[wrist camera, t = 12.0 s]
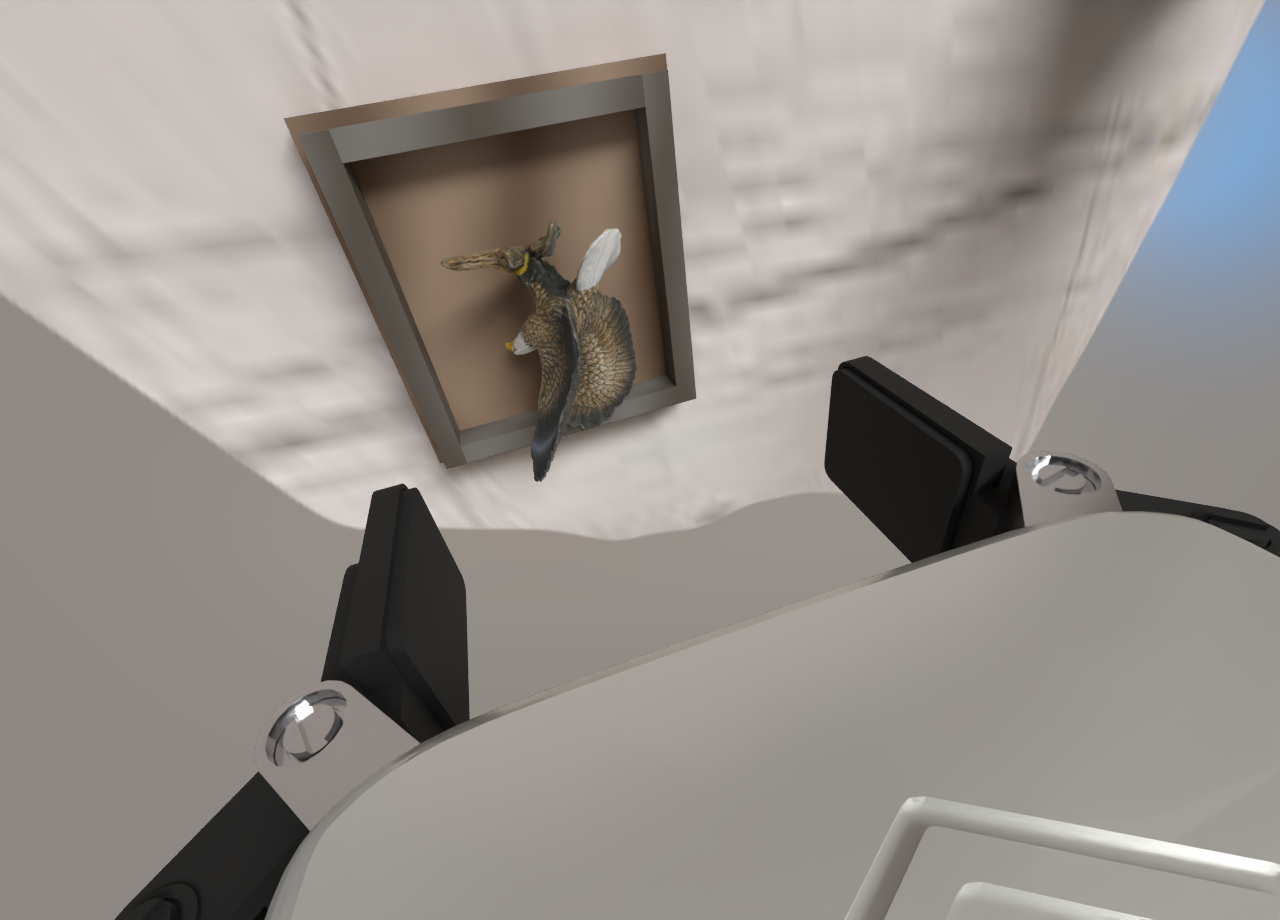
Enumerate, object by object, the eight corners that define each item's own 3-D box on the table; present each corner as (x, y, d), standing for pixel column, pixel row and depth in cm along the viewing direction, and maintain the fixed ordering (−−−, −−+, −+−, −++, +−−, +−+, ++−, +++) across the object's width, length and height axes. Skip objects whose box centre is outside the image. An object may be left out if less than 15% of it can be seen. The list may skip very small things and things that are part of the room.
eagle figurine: (400, 290, 21) (499, 488, 24) (478, 224, 16) (595, 489, 18) (546, 248, 26) (616, 418, 28) (645, 186, 20) (720, 402, 23)
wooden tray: (655, 55, 21) (679, 50, 19) (687, 382, 30) (705, 403, 28) (291, 117, 19) (273, 120, 17) (440, 450, 28) (440, 479, 26)
